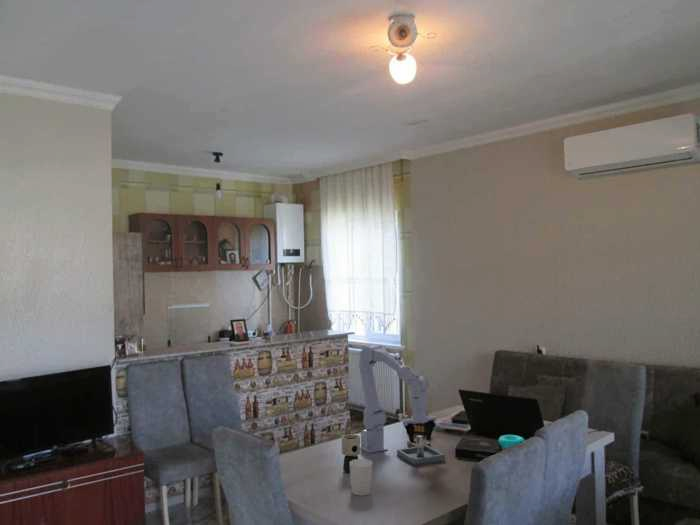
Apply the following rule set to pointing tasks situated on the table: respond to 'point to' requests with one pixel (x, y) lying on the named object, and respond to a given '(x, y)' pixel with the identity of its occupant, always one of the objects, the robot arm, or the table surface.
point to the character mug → (350, 449)
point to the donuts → (510, 440)
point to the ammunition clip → (419, 426)
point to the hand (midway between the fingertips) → (420, 441)
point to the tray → (411, 457)
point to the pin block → (415, 444)
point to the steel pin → (420, 445)
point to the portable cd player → (477, 448)
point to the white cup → (361, 476)
